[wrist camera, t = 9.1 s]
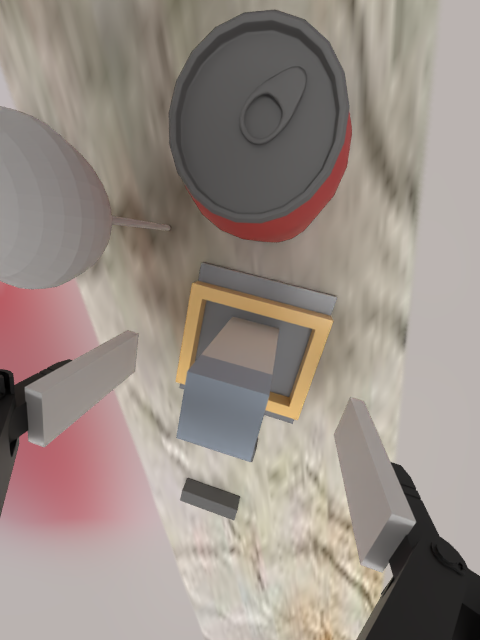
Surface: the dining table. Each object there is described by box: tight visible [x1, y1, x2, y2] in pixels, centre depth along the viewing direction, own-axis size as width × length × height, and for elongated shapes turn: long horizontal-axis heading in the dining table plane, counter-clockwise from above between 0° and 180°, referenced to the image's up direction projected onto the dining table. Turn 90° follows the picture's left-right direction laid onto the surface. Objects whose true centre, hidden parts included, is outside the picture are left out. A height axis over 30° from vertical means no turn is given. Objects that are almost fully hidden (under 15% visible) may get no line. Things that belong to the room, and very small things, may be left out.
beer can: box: [169, 10, 352, 242], centre depth 14 cm, size 7×7×12 cm
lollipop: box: [0, 106, 171, 289], centre depth 14 cm, size 6×6×15 cm
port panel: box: [176, 262, 337, 424], centre depth 22 cm, size 12×11×2 cm
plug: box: [176, 317, 279, 462], centre depth 17 cm, size 4×4×10 cm
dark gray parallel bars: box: [180, 438, 258, 520], centre depth 26 cm, size 10×6×2 cm, turn 167°
